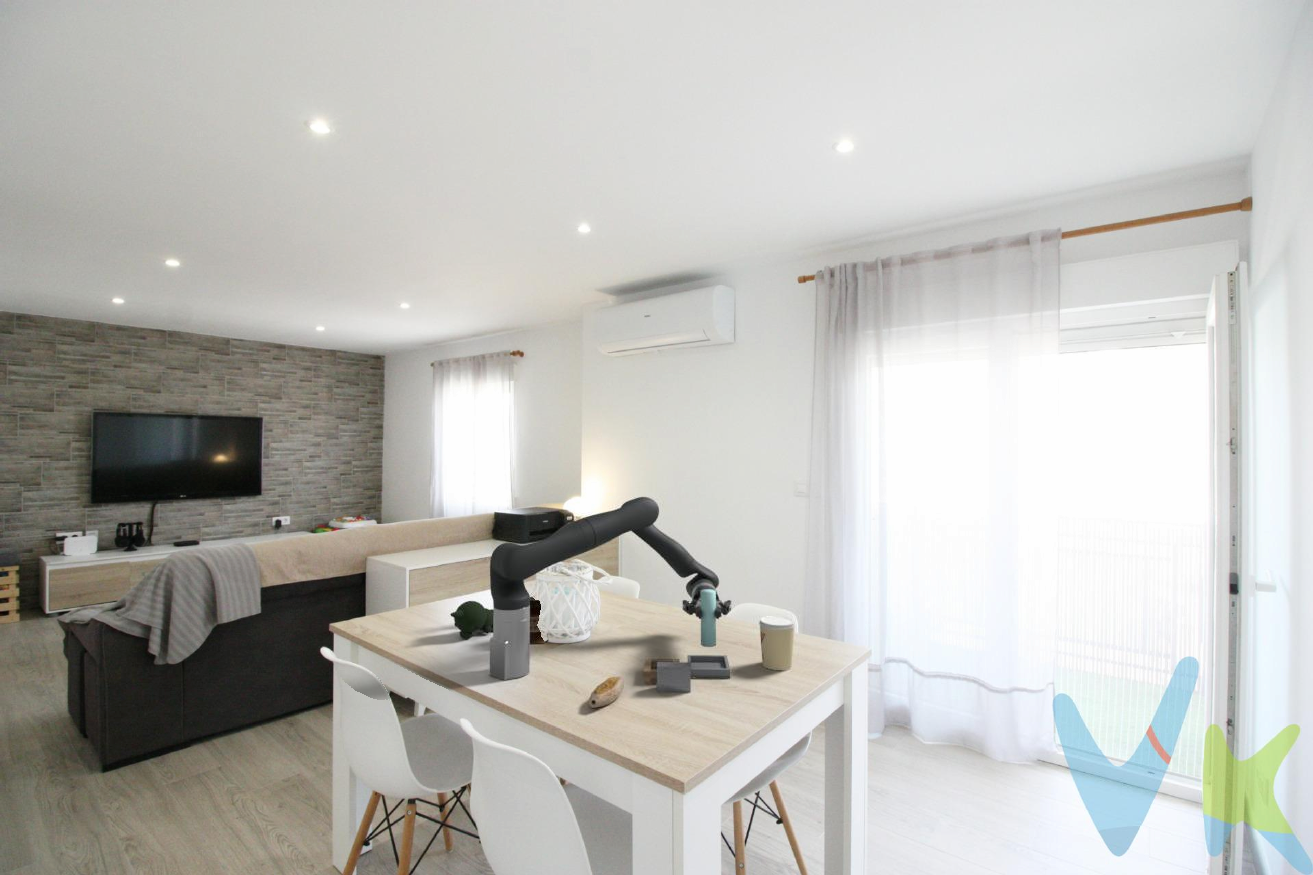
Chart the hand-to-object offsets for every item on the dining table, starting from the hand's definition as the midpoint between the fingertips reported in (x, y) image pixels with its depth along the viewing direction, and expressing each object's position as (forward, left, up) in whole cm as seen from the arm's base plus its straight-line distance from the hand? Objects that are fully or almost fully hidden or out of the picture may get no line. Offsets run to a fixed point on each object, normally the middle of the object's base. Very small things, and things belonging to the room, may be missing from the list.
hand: (709, 614), depth 155 cm
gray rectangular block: (-14, +2, -15) cm, 20 cm away
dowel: (+2, +2, -8) cm, 9 cm away
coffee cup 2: (+16, -11, -15) cm, 25 cm away
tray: (+2, +2, -15) cm, 15 cm away
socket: (-9, +9, -15) cm, 20 cm away
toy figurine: (-13, +76, -15) cm, 78 cm away
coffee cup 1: (-8, +56, -15) cm, 58 cm away
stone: (-28, +11, -16) cm, 34 cm away
